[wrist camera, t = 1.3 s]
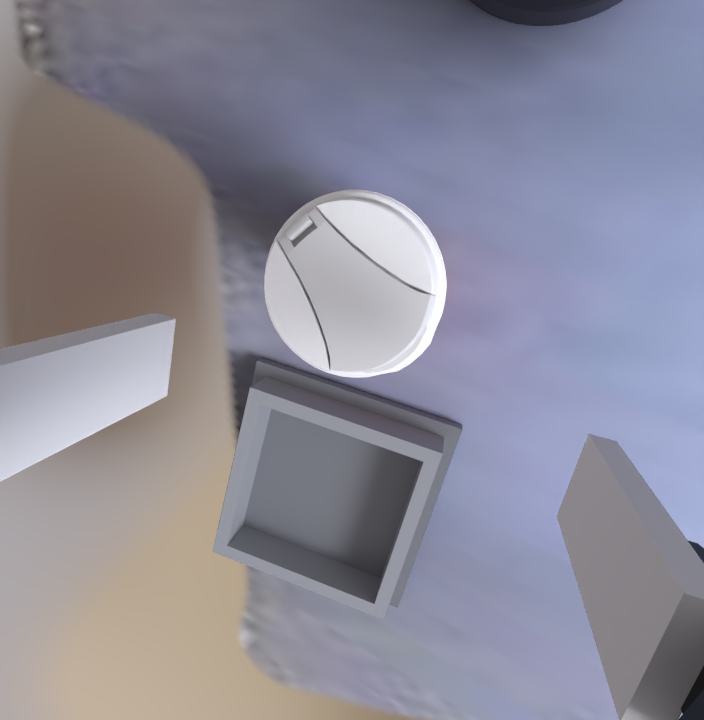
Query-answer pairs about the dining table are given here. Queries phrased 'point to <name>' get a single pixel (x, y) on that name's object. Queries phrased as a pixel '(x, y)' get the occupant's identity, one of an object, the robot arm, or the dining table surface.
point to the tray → (332, 486)
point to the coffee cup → (355, 284)
